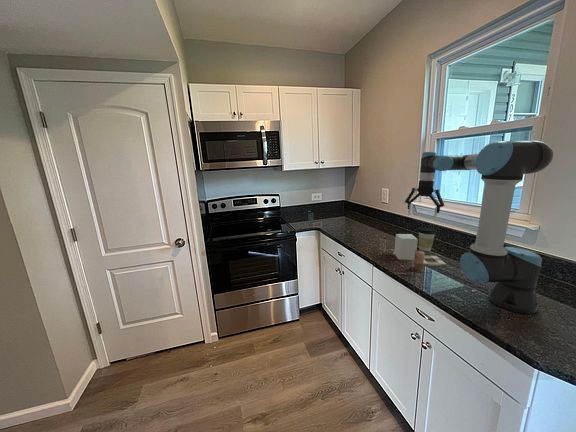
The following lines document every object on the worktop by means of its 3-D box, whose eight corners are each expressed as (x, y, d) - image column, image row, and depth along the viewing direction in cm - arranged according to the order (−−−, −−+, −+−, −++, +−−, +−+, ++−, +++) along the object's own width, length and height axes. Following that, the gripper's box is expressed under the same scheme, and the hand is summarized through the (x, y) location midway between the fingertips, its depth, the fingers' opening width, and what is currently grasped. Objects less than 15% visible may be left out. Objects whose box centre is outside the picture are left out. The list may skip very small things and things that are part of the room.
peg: (423, 273, 130) (426, 253, 127) (415, 273, 130) (417, 253, 127) (420, 269, 134) (422, 250, 131) (411, 269, 134) (413, 250, 132)
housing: (415, 259, 143) (417, 239, 140) (399, 259, 144) (401, 238, 141) (409, 253, 152) (411, 234, 149) (394, 253, 152) (395, 234, 149)
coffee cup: (435, 254, 153) (438, 231, 150) (418, 253, 155) (421, 231, 151) (430, 249, 162) (432, 227, 159) (414, 248, 164) (416, 226, 161)
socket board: (446, 268, 134) (446, 264, 134) (423, 268, 135) (423, 263, 135) (435, 259, 146) (435, 255, 145) (414, 259, 147) (414, 255, 146)
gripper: (454, 180, 134) (448, 218, 139) (406, 178, 151) (402, 212, 156) (450, 182, 128) (445, 221, 134) (401, 179, 145) (398, 214, 151)
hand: (422, 216), depth 145 cm, fingers open, 13 cm apart
